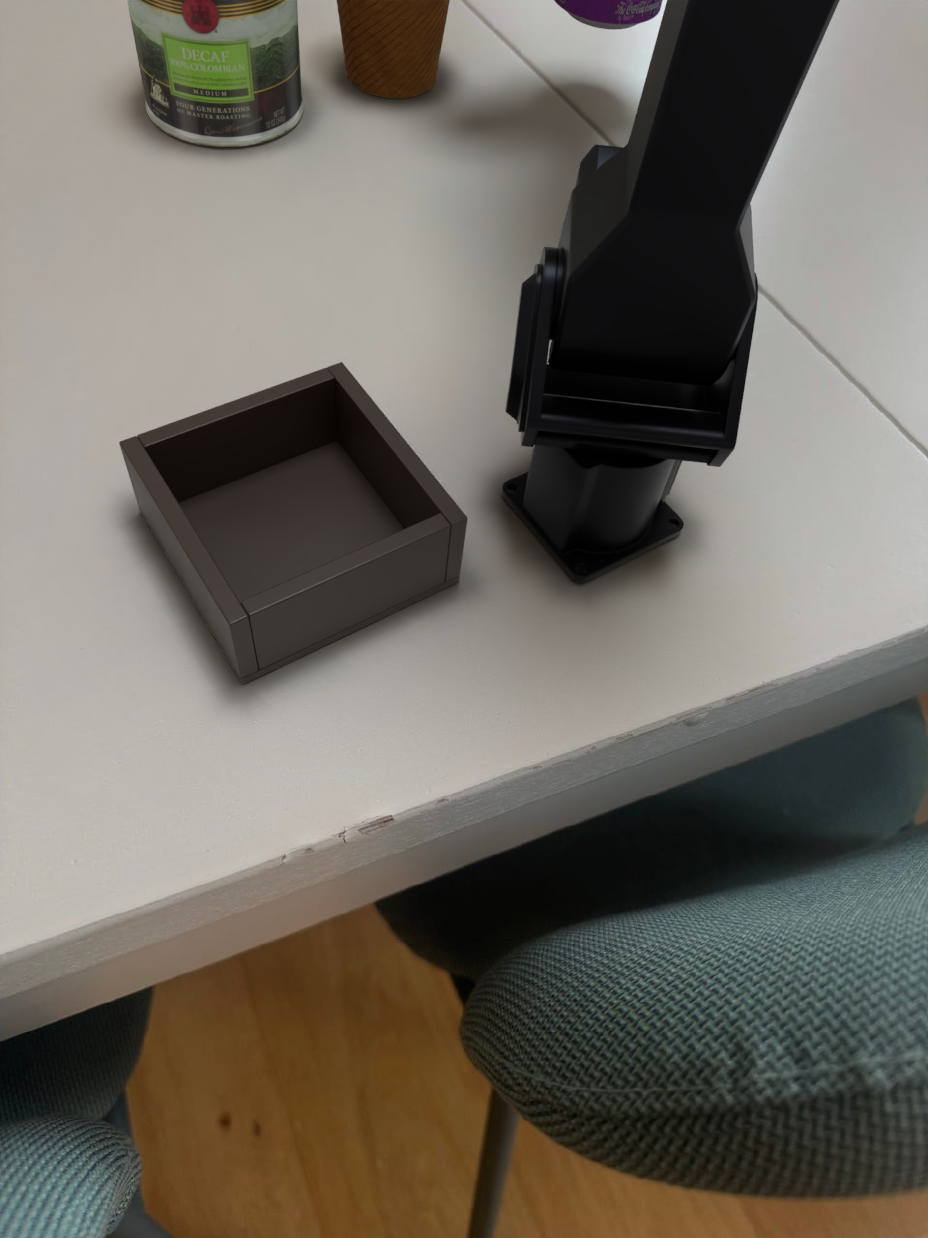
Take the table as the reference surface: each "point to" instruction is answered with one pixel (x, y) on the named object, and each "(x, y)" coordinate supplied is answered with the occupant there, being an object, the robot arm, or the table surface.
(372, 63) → the disposable coffee cup
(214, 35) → the coffee can
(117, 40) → the table surface
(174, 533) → the open box
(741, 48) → the robot arm
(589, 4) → the beverage can
